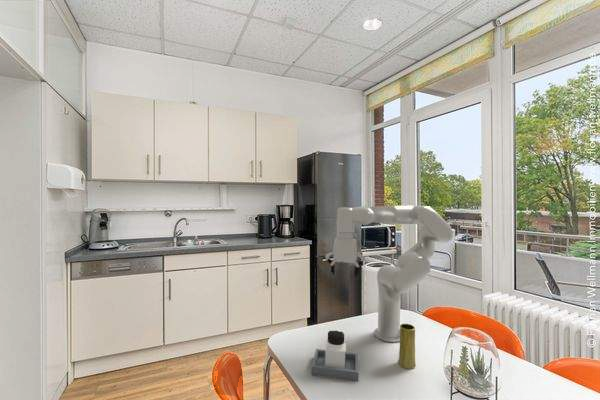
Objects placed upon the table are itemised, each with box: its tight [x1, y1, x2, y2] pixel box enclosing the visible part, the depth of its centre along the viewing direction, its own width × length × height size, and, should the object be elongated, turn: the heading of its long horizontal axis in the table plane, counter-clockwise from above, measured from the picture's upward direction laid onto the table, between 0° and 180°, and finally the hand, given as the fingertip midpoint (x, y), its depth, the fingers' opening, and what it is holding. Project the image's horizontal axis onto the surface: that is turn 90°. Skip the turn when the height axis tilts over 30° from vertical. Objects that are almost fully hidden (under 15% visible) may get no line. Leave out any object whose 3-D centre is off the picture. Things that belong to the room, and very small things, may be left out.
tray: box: [311, 348, 360, 382], centre depth 105 cm, size 16×12×3 cm
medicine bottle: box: [324, 329, 347, 369], centre depth 105 cm, size 7×7×12 cm
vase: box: [397, 323, 416, 370], centre depth 108 cm, size 6×6×14 cm
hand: (344, 274), depth 126 cm, fingers open, 9 cm apart
